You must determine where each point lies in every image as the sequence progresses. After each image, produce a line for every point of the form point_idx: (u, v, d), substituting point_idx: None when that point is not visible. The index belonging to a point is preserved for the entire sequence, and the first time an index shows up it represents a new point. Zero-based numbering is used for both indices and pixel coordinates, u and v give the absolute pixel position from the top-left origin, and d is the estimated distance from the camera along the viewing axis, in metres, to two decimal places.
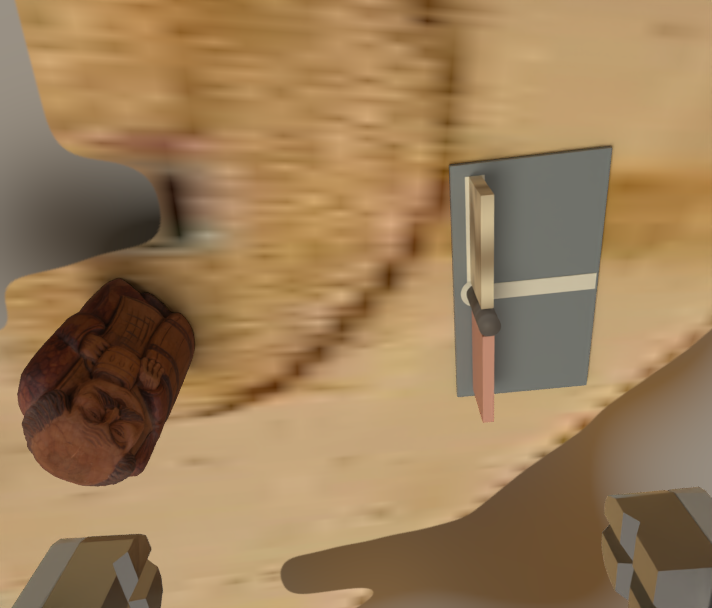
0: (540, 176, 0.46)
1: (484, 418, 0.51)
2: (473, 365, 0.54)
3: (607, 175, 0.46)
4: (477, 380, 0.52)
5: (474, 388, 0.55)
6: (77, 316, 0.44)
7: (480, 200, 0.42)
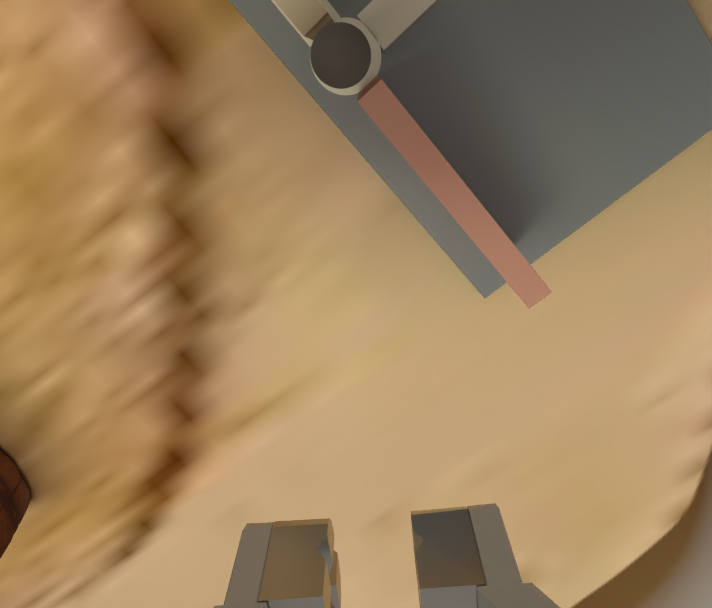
0: None
1: (524, 297, 0.20)
2: None
3: None
4: None
5: None
6: None
7: None
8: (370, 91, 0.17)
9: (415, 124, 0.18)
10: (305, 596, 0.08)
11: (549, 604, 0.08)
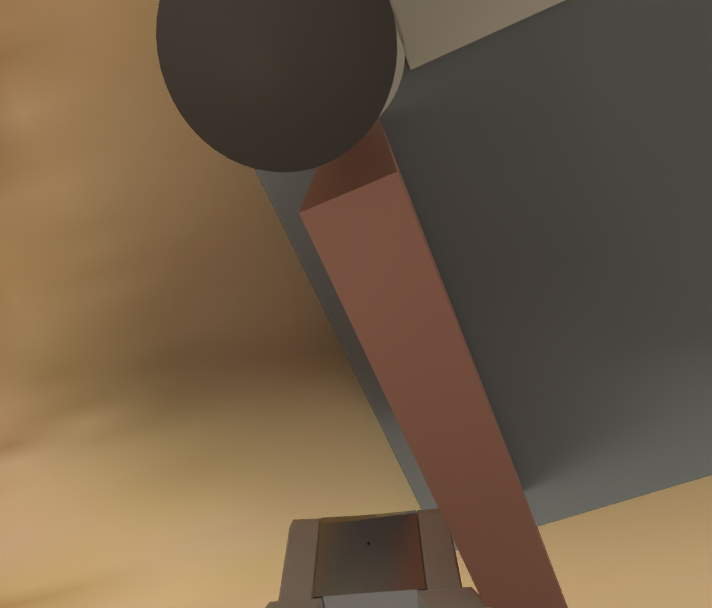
0: None
1: None
2: None
3: None
4: None
5: None
6: None
7: None
8: (350, 196, 0.05)
9: (453, 330, 0.06)
10: (360, 592, 0.08)
11: None
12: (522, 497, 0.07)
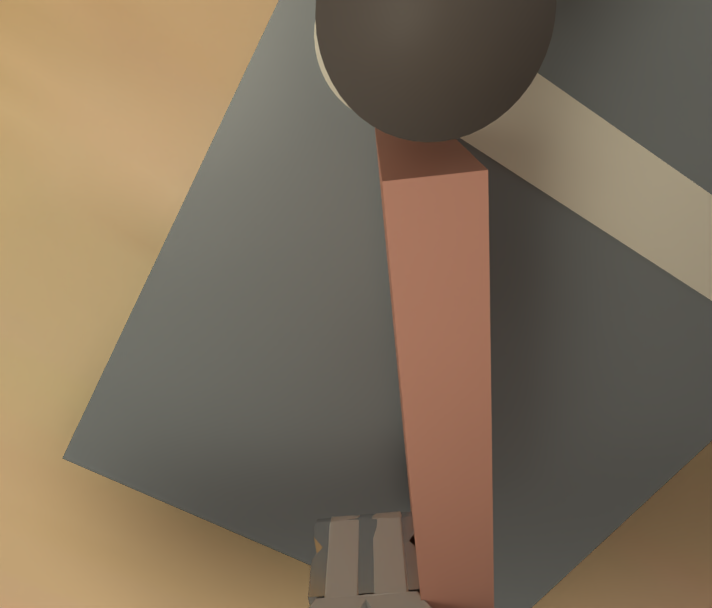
0: None
1: None
2: None
3: None
4: None
5: None
6: None
7: None
8: (435, 180, 0.05)
9: (485, 334, 0.06)
10: (406, 588, 0.08)
11: None
12: (490, 507, 0.07)
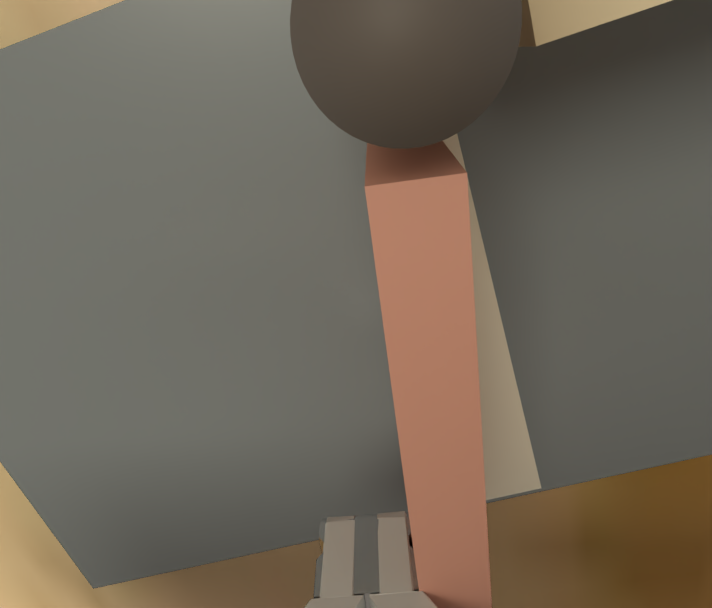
0: None
1: None
2: None
3: None
4: None
5: None
6: None
7: None
8: (416, 184, 0.05)
9: (471, 332, 0.06)
10: (401, 589, 0.08)
11: None
12: (484, 501, 0.07)
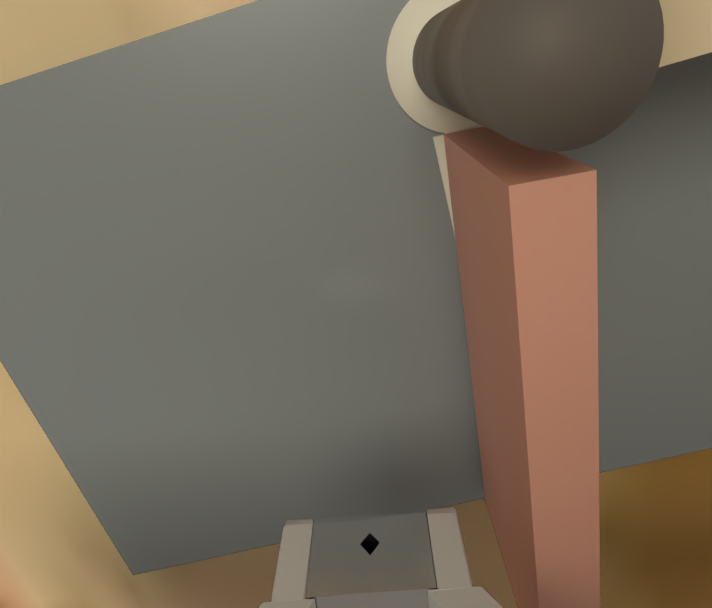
0: None
1: None
2: (478, 408, 0.13)
3: None
4: (499, 477, 0.11)
5: (490, 503, 0.14)
6: None
7: None
8: (552, 181, 0.06)
9: (593, 308, 0.07)
10: (353, 593, 0.08)
11: None
12: (596, 461, 0.08)
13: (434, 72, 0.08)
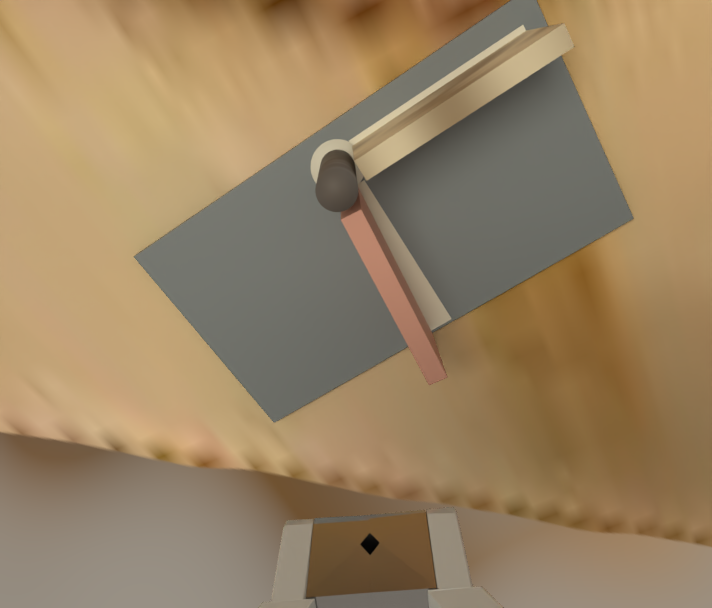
0: (561, 146, 0.29)
1: (427, 376, 0.27)
2: None
3: (594, 238, 0.31)
4: None
5: None
6: None
7: (552, 30, 0.22)
8: (351, 215, 0.24)
9: (377, 244, 0.25)
10: (352, 592, 0.08)
11: None
12: (402, 289, 0.26)
13: None
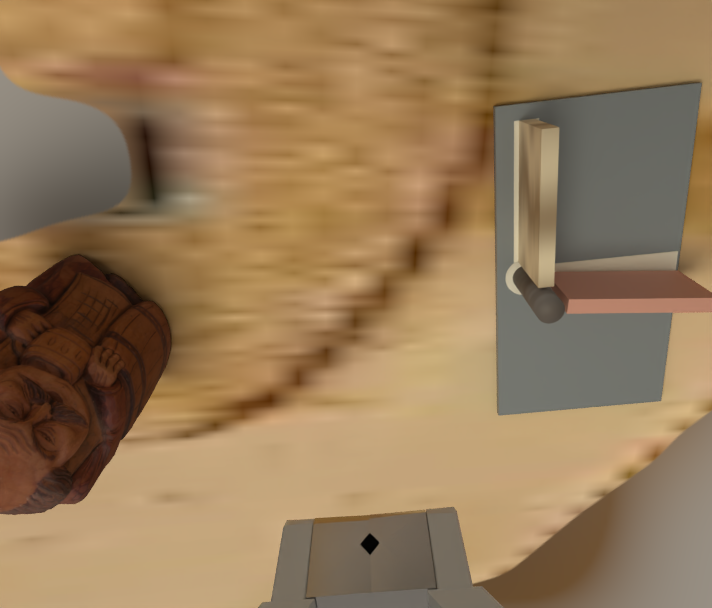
0: (609, 121, 0.36)
1: (708, 310, 0.36)
2: None
3: (694, 120, 0.36)
4: None
5: None
6: (12, 288, 0.34)
7: (540, 136, 0.32)
8: (568, 306, 0.36)
9: (596, 300, 0.35)
10: (352, 593, 0.08)
11: (498, 607, 0.08)
12: (635, 298, 0.35)
13: None
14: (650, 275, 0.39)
